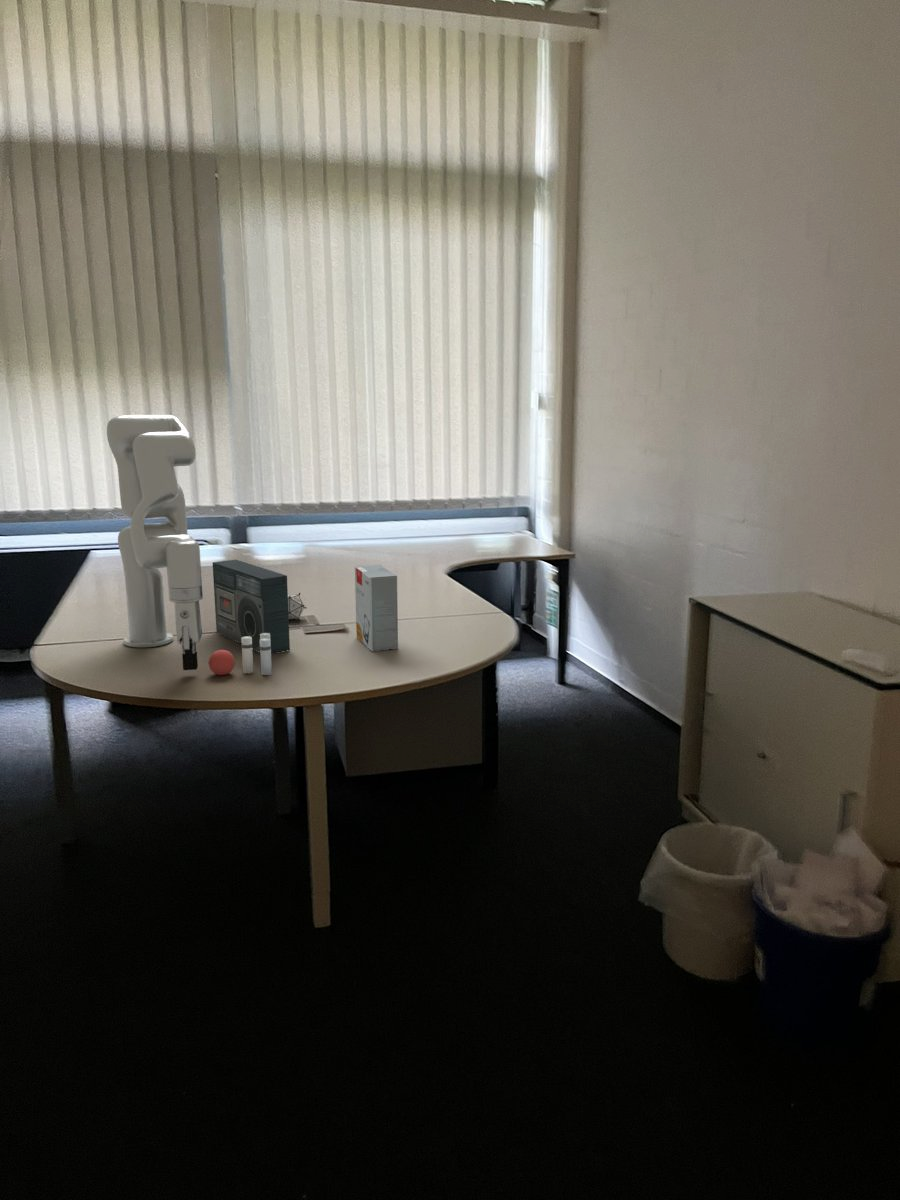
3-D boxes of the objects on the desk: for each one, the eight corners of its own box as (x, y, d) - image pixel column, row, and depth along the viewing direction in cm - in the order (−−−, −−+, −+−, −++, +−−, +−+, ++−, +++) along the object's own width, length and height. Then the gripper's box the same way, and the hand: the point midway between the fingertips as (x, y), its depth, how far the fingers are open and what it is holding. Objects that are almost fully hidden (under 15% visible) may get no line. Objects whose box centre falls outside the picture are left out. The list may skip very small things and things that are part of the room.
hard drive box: (355, 637, 244) (354, 566, 240) (382, 634, 247) (381, 564, 242) (370, 652, 230) (369, 576, 226) (399, 649, 233) (398, 574, 228)
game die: (297, 630, 265) (314, 602, 267) (293, 627, 257) (311, 598, 258) (271, 615, 266) (289, 586, 267) (266, 611, 257) (285, 582, 259)
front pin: (241, 671, 214) (239, 637, 212) (251, 669, 215) (249, 635, 213) (244, 674, 211) (243, 639, 210) (254, 672, 213) (253, 638, 211)
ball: (239, 648, 211) (240, 672, 213) (218, 645, 214) (220, 669, 215) (223, 654, 206) (225, 679, 207) (202, 652, 208) (204, 677, 210)
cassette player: (216, 632, 249) (212, 562, 245) (239, 628, 253) (235, 559, 249) (265, 655, 227) (262, 579, 223) (289, 651, 231) (287, 575, 227)
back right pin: (259, 673, 212) (257, 639, 210) (269, 672, 213) (267, 637, 211) (263, 676, 210) (261, 641, 208) (273, 674, 211) (271, 640, 209)
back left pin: (259, 667, 217) (258, 633, 215) (269, 665, 218) (268, 632, 216) (263, 670, 215) (262, 636, 213) (273, 668, 216) (271, 634, 214)
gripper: (199, 599, 200) (204, 677, 204) (204, 585, 214) (209, 659, 218) (164, 600, 198) (170, 679, 202) (172, 587, 213) (177, 660, 217)
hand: (190, 668), depth 210 cm, fingers closed
